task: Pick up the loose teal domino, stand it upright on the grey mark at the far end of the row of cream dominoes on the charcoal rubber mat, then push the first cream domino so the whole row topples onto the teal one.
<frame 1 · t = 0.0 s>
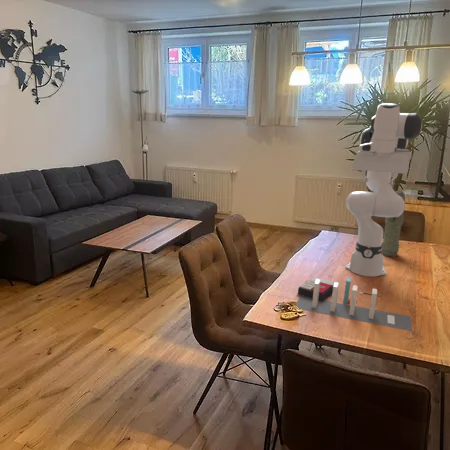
hand: (378, 183, 164), 48 cm above the table, tool pointing down, fingers open, 8 cm apart
domino 1: (314, 305, 165), point 1 cm above the table, touching domino mat
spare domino: (345, 302, 170), on the table
thermos: (388, 254, 232), on the table
smartphone: (377, 301, 174), on the table
calculator: (317, 293, 177), on the table, touching domino mat
domino 4: (371, 315, 158), point 1 cm above the table, touching domino mat
domino 2: (333, 308, 162), point 1 cm above the table, touching domino mat
domino 3: (351, 312, 160), point 1 cm above the table, touching domino mat
domino mat: (351, 314, 160), on the table
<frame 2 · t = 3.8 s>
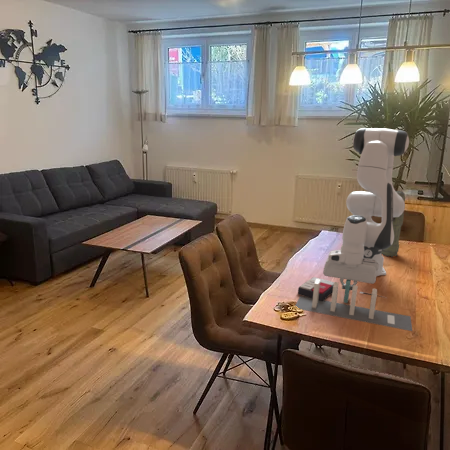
hand: (347, 289, 169), 6 cm above the table, tool pointing down, fingers closed on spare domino, 2 cm apart
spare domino: (345, 302, 170), on the table, touching gripper
everything else where it was.
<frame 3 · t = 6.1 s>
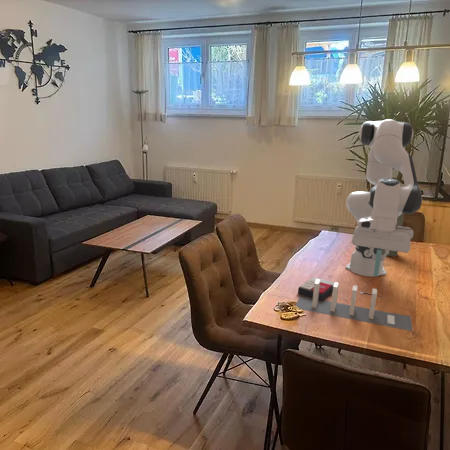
hand: (378, 259, 156), 22 cm above the table, tool pointing down, fingers closed on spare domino
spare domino: (375, 274, 157), point 16 cm above the table, touching gripper
everything else where it was.
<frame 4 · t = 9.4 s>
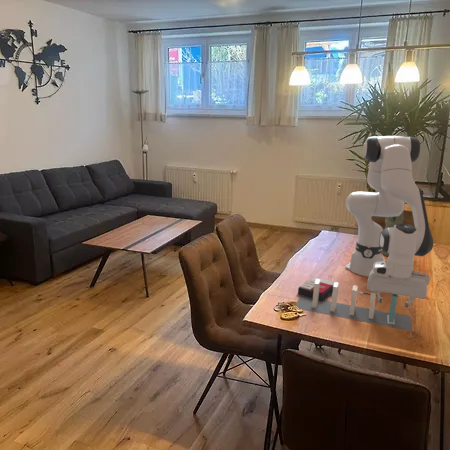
hand: (393, 304, 154), 7 cm above the table, tool pointing down, fingers open, 8 cm apart
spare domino: (390, 319, 156), point 1 cm above the table, touching domino mat
domino 4: (371, 315, 158), point 1 cm above the table, touching domino mat, gripper
everything else where it was.
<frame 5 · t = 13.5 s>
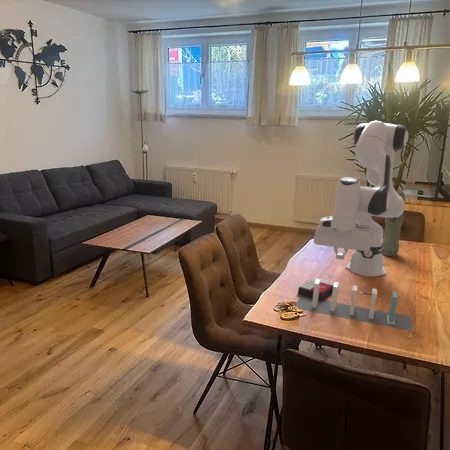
hand: (339, 258, 157), 21 cm above the table, tool pointing down, fingers closed
domino 4: (371, 315, 158), point 1 cm above the table, touching domino mat
everything else where it was.
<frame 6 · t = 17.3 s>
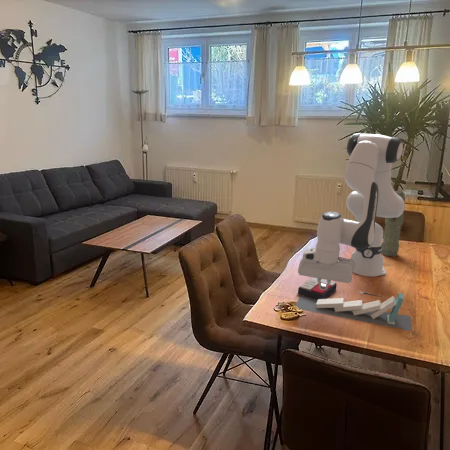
hand: (323, 289, 162), 8 cm above the table, tool pointing down, fingers closed
domino 1: (317, 303, 164), point 2 cm above the table, tilted 75°, touching domino 2, domino mat
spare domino: (391, 318, 156), point 1 cm above the table, tilted 13°, touching domino mat
domino 4: (372, 314, 158), point 1 cm above the table, tilted 43°, touching domino mat
domino 2: (335, 307, 162), point 2 cm above the table, tilted 72°, touching domino 1, domino 3, domino mat
domino 3: (353, 310, 160), point 2 cm above the table, tilted 63°, touching domino 2
everything else where it was.
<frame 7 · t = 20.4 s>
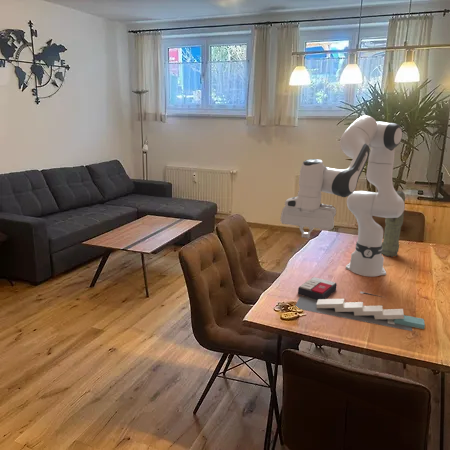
hand: (305, 237, 164), 27 cm above the table, tool pointing down, fingers closed
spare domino: (394, 318, 155), point 2 cm above the table, tilted 91°, touching domino 4, domino mat
domino 4: (374, 314, 157), point 2 cm above the table, tilted 76°, touching domino 3, domino mat, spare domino
domino 3: (354, 310, 160), point 2 cm above the table, tilted 77°, touching domino 2, domino 4, domino mat
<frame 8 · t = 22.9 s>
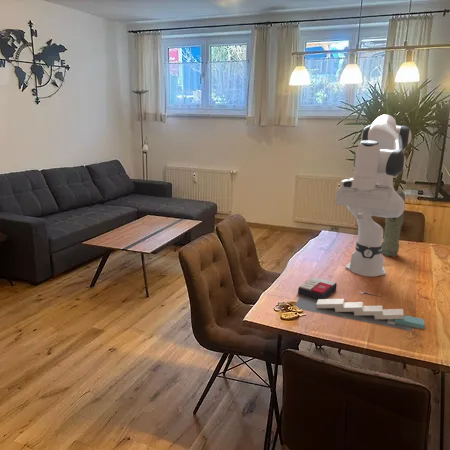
hand: (359, 218, 166), 34 cm above the table, tool pointing down, fingers closed
nothing on the table moved.
at the end: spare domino tilted 91°; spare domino inside the target area (2.9 cm from its centre), point 1.7 cm above the table; domino 4 tilted 76° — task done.
